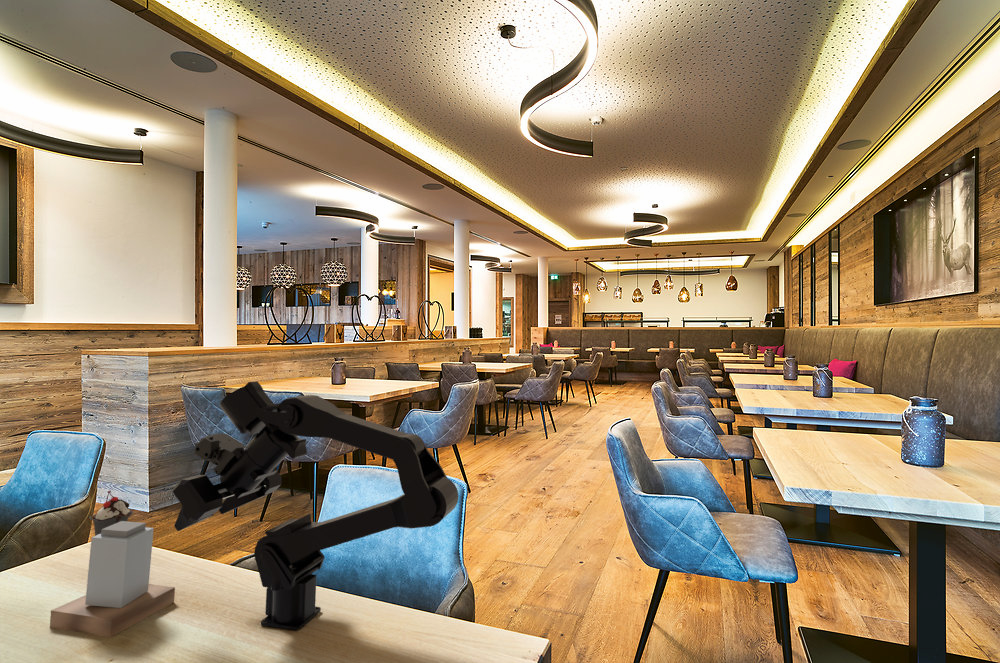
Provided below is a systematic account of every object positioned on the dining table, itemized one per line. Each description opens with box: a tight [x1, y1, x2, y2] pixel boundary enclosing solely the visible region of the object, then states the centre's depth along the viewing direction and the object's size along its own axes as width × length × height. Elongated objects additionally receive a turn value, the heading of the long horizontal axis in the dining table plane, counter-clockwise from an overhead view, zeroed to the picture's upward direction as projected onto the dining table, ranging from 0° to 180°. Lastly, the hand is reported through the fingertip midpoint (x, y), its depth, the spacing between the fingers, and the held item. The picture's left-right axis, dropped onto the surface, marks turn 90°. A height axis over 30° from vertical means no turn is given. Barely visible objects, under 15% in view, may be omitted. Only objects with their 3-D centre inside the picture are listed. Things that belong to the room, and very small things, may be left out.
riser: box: [49, 583, 176, 638], centre depth 81 cm, size 11×11×3 cm
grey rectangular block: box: [85, 520, 154, 608], centre depth 81 cm, size 6×6×11 cm
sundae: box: [88, 490, 134, 536], centre depth 98 cm, size 7×7×15 cm
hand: (199, 519), depth 85 cm, fingers open, 9 cm apart
